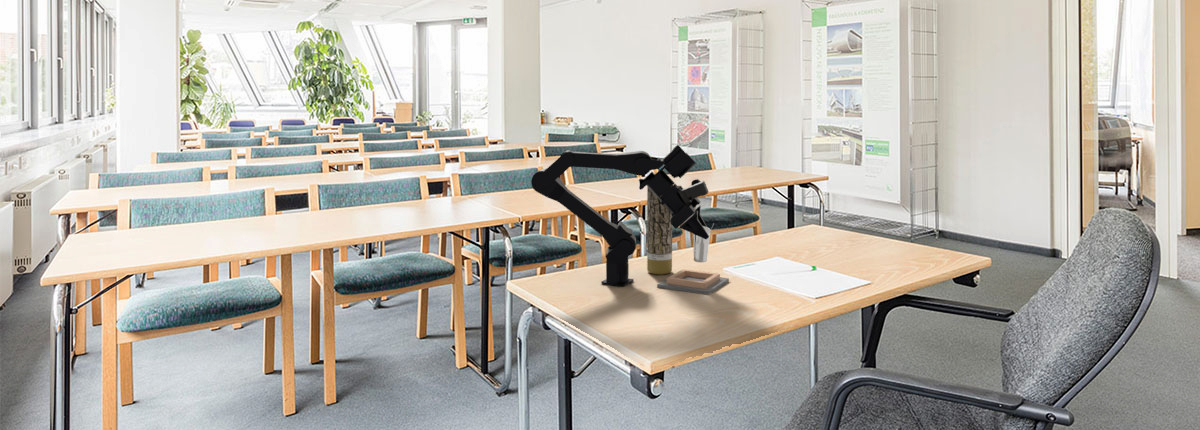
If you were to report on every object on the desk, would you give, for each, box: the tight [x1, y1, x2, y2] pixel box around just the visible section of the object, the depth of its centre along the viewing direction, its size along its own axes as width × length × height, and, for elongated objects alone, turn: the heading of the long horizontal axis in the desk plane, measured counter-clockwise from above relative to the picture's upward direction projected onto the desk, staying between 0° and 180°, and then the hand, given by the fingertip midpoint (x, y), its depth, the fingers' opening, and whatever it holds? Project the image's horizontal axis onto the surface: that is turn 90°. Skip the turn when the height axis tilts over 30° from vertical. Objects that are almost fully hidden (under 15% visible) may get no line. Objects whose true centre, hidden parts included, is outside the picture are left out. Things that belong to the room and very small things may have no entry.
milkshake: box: [692, 223, 715, 263], centre depth 179 cm, size 4×5×10 cm
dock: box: [656, 269, 730, 295], centre depth 182 cm, size 14×14×2 cm
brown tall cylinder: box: [646, 184, 674, 276], centre depth 193 cm, size 7×7×25 cm
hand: (708, 236), depth 179 cm, fingers closed on milkshake, 4 cm apart
